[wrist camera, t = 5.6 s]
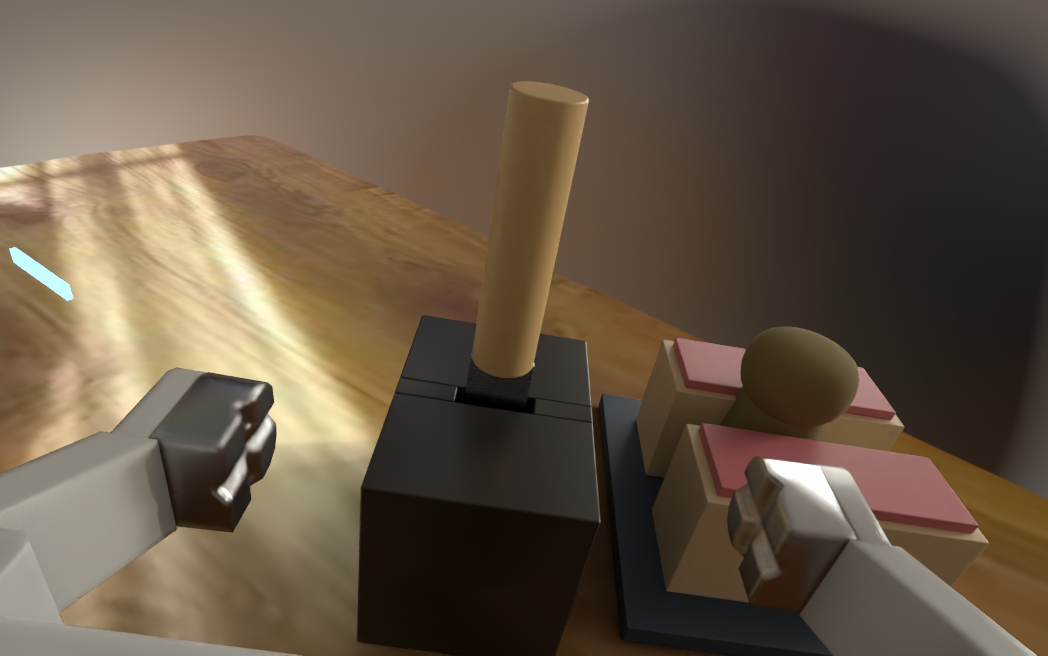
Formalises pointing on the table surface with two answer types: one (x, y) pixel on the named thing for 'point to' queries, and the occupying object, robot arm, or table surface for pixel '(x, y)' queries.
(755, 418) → the brown piece
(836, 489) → the robot arm
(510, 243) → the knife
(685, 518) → the twin pink pillar stand
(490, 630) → the knife holder
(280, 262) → the table surface
